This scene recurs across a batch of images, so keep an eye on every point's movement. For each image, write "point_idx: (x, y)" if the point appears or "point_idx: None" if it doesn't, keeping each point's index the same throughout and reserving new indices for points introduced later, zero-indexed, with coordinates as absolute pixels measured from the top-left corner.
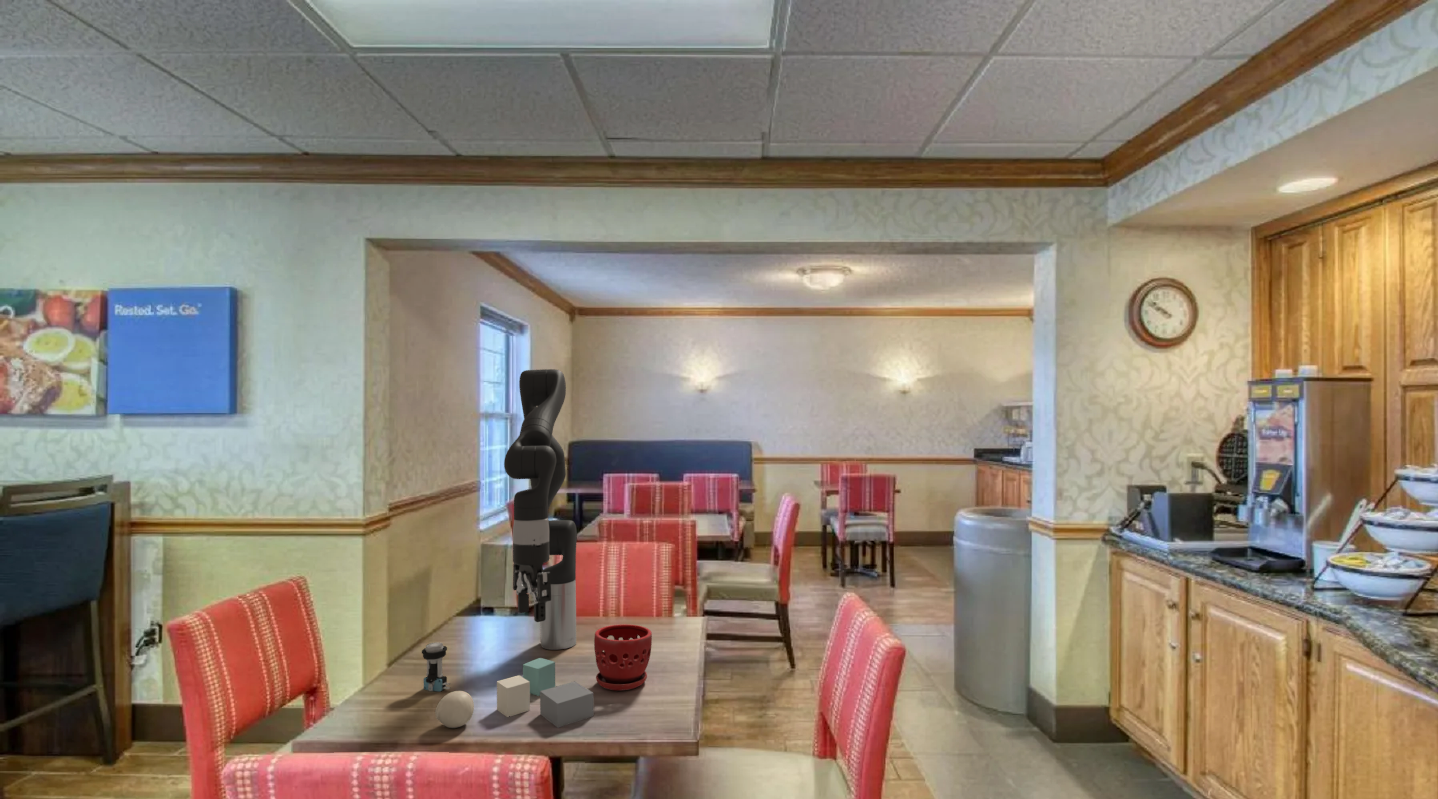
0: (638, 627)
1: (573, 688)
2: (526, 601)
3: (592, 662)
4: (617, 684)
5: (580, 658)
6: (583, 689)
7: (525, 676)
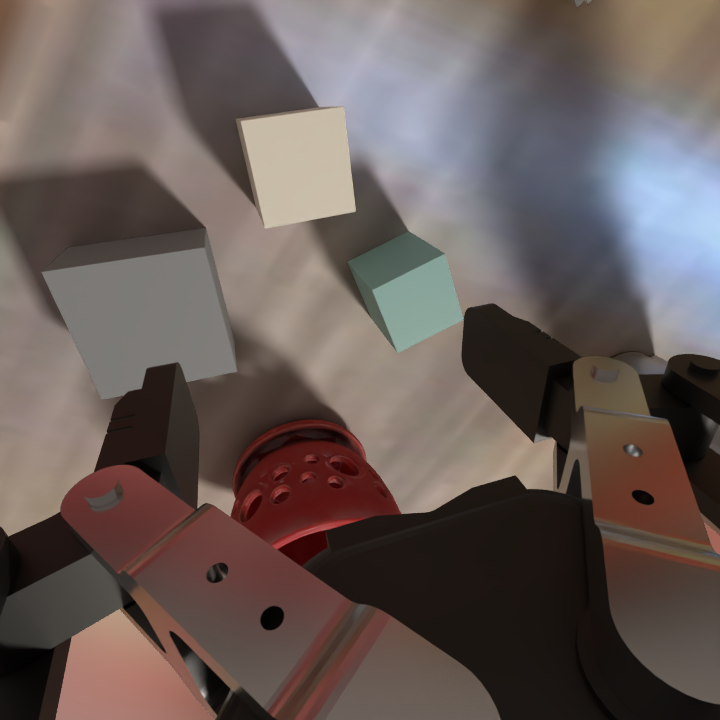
0: None
1: (172, 354)
2: (504, 392)
3: (463, 431)
4: (243, 459)
5: (504, 413)
6: None
7: (417, 248)
